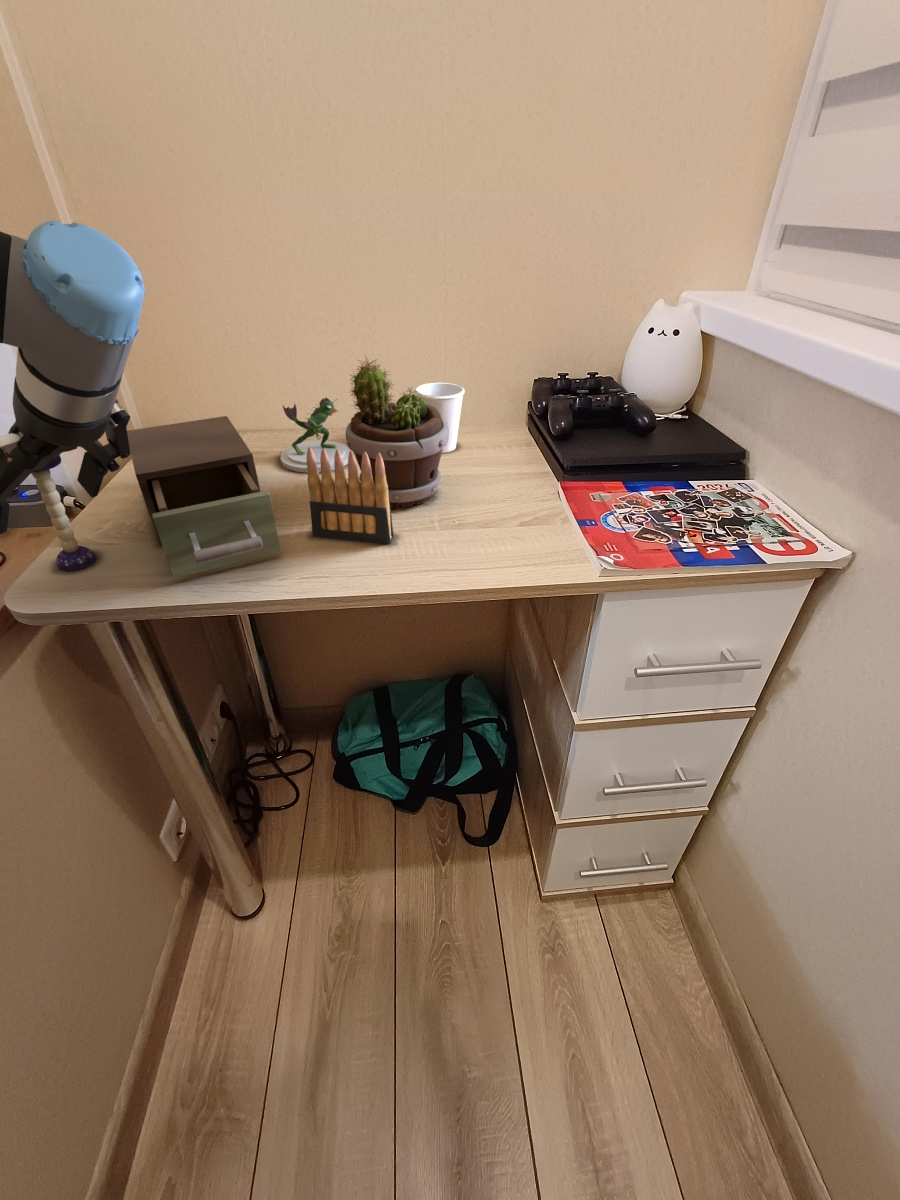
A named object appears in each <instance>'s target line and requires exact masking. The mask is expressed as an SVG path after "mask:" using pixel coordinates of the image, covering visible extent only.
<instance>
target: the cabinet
mask: <svg viewBox="0 0 900 1200" xmlns="http://www.w3.org/2000/svg"><path fill="white" fill-rule="evenodd" d="M127 434H128V441H129V447H130V456H131V461H132V465H133V469H134V470H133V471H134V474H135V477H136V480H137V483H138V486H139V489H140V492H141V494H142V497H143V500H144V501H143V502H144V503H145V506H146V509H147V513H148V515H149V519H150V521H151V524H152V527H153V530H154V532H155V535H156V538H157V541H158V544H159V546H162V544H161V541H160V538H159V535H158V532H157V529H156V526H155V523H154V520H153V517H152V514H153V513H158V512H160V511H159V508H158V504H157V501H156V497H155V493H154V490H153V486H152V482H151V479H154V478H159V477H165V476H170V475H176V474H181V473H187V472H192V471H198V470H203V469H209V468H214V467H220V466H225V465H231V464H236V463H243V465H244V467H245V468H246V470H247V472H248V473H249V475H250V476H251V478H252V480H253V481H254V483H255V485H256V486H257V488H258V490H259V492H261V487H260V483H259V478H258V474H257V469H256V463H255V458H254V454H253V453H252V451H251V449H250V448H249V447H248V445H247V443H246V442H245V441H244V439H243V438H242V436H241V435H240V433H239V432H238V430H237V429H236V427H235V426H234V424H233V423H232V421H231V420H230V417H228V416H227V415H223V416H216V417H209V418H203V419H197V420H191V421H184V422H176V423H169V424H163V425H157V426H150V427H143V428H137V429H136V428H135V429H130V430H127Z"/></svg>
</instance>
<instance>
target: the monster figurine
mask: <svg viewBox="0 0 900 1200" xmlns="http://www.w3.org/2000/svg"><path fill="white" fill-rule="evenodd" d="M338 399H339V398H337V399H335V401H337V400H338ZM335 401H331V400H330V399H329V398H328V397H324V398H322V399H320V401H319V405H318V404H316V406H317V407H315V406H314V407H313V408H314V410H313V409H311V411H312V413H306V414H308V415H310V417H309V418H308V417H305V420H307V421H305V420H304V421H302V420H299V419H298V408H297V405H296V403H295V402H294V403H293V407H290V406H287V407H285V405H282V409H283V412H284V414H285V416H286V417H287V418H288V419H289V420H290V421H293V422H295V424H296V425H297V426H298V427H300V428H303V429H304V430H306V431H305V432H304V433H303V434H302V435H300V436H299V437H298V438H297V439H296V440H294V442H292V443H291V446H289V447H287V448H285V449H284V450H283V451H282V452H281V454H280V458H279V459H280V463H281V465H282V466H283V467H284V468H286V469H287V470H290V471H293V472H296V473H306V474H308V471H307V470H308V469H307V450H308V448H309V447H310V448H311V449H312V451H313V454H314V456H315V460H316V464H317V469H318V474H320V473H321V465H320V457H321V451H322V448H324V449H325V451H326V453H327V455H328V458H329V462H330V467H331V472H332V471H335V469H334V457H335V452H336V450H337V449H338V450H339V452H340V454H341V457H342V460H343V464H344V467H346V466H348V456H349V452H350V451H352V450H350V449H349V447H348V445H347V444H346V443H343V442H338V441H332V440H329V437H330V431H329V430H328V429H327V428H326V427H324V426H323V423H324V424H325V422H326V421H327V420H328V417H330V416H331V417H332V416H333V414H335V413H337V412H338V409H336V408H335V404H334V403H335ZM320 434H322V437H321V436H320ZM313 436H315V437H316V439H318V440H311V441H310V440H309V441H305V440H307V439H308V438H311V437H313ZM320 439H321V440H320ZM352 452H353V451H352Z"/></svg>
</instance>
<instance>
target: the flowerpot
mask: <svg viewBox="0 0 900 1200" xmlns="http://www.w3.org/2000/svg"><path fill="white" fill-rule="evenodd" d="M363 355H364V356H365V361H363V360H360V359H357V361H359V363H360V365H358V367H357V368H356V370H355V371H352V374H349V376H350V377H351V378H349V381H351V382H350V383H349V385H350V387H352V388H350V391H348V392H347V394H349V393H351V394H350V397H352V401H353V404H351V405H350V406H353V407H354V408H353V409H354V410H357V411H356V412H355V413H354V415H353V416H351V418H350V422H349V423H348V424H347V426H346V428H345V445H347V446H348V447H349V449H350V450H352V452H353V453H354V456H355V459H356V462H357V466H358V467H359V470H360V474H359V479H360V483H362V469H361V464H362V456H363V453H364V452H366V453H367V455H368V457H369V461H370V465H371V472H372V478H373V482H374V487H375V463H376V457H377V454H378V453H380V454H381V456H382V459H383V462H384V467H385V475H386V482H387V485H388V496H389V503H390V508H394V509H397V508H399V507H403V508H408V507H412V506H413V505H421V504H423V503H426V502H428V501H429V500H430V499H431V498H432V497H433V496H434V494H435V492H436V491H438V487H439V484H440V480H441V471H440V470H439V465H440V461H441V458H442V449H443V448H444V447H445V446H446V445H447V443H448V440H449V427H448V424H447V422H446V421H445V420H444V419H443V418H442V417H441V415H440V413H439V411H438V410H437V409H436V408H435V407H433V406H431V405H426V404H425V402H424V401H423V397H422V395H421V397H420V396H418V395H417V394H416V393H417V392H418V391H417V392H416V391H415V389H414V390H412V389H413V387H409V386H407V388H408V389H406V391H405V390H402V391H403V392H402V393H401V392H399V394H400V395H401V396H400V397H399V398H398V399H397V400H395V399H393V400H392V398H393V397H396V395H392V393H393V392H391V393H390V392H389V390H390V389H392V387H393V386H394V384H393V383H392V379H391V380H390V379H389V378H388V377H389V376H391V374H389V373H388V372H390V370H388V371H387V369H385V367H383V369H381V366H382V363H379V361H378V359H379V358H376V359H374V360H372V361H369V359H368V357H367V355H366V354H365V353H363ZM377 361H378V363H377ZM355 372H357V373H356V374H355ZM415 392H416V393H415ZM419 393H420V390H419ZM420 394H421V393H420ZM420 394H419V395H420ZM354 399H355V400H354ZM424 399H425V398H424ZM393 401H395V402H393Z"/></svg>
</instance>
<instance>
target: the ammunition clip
mask: <svg viewBox="0 0 900 1200" xmlns="http://www.w3.org/2000/svg"><path fill="white" fill-rule="evenodd" d="M320 465H321V472H320V473H318V469H317V464H316V460H315V456H314V454H313V451H312V449H311V448H310V447H309V448H308V450H307V469H308V470H307V471H308V473H307V486H308V487H307V488H308V494H309V502H308V503H309V512H310V513H309V514H310V522H311V531H312V536H313V537H316V538H325V539H335V540H346V541H355V542H363V543H375V544H382V545H383V544H384V545H390V544H391V543H392V541H393V539H394V537H395V535H394V527H393V519H392V518H393V517H392V510H391V507H390V503H389V496H388V485H387V482H386V475H385V467H384V462H383V459H382V456H381V454H380V453H378V454H377V457H376V463H375V487H374V482H373V478H372V472H371V465H370V461H369V457H368V455H367V453H366V452H364V453H363V456H362V464H361V469H362V483H360V479H359V476H360V474H359V468H358V467H359V466H358V462H357V459H356V456H355V453H354V452H353V451H350V452H349V456H348V464H347V476H348V477H346V471H345V466H344V464H343V460H342V457H341V454H340V452H339V450H338V449H337V450H336V452H335V457H334V469H335V470H334V477H333V472H332V471H331V467H330V462H329V458H328V455H327V453H326V451H325V449H324V448H322V451H321V457H320ZM319 474H320V475H319ZM347 478H348V479H347Z"/></svg>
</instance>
